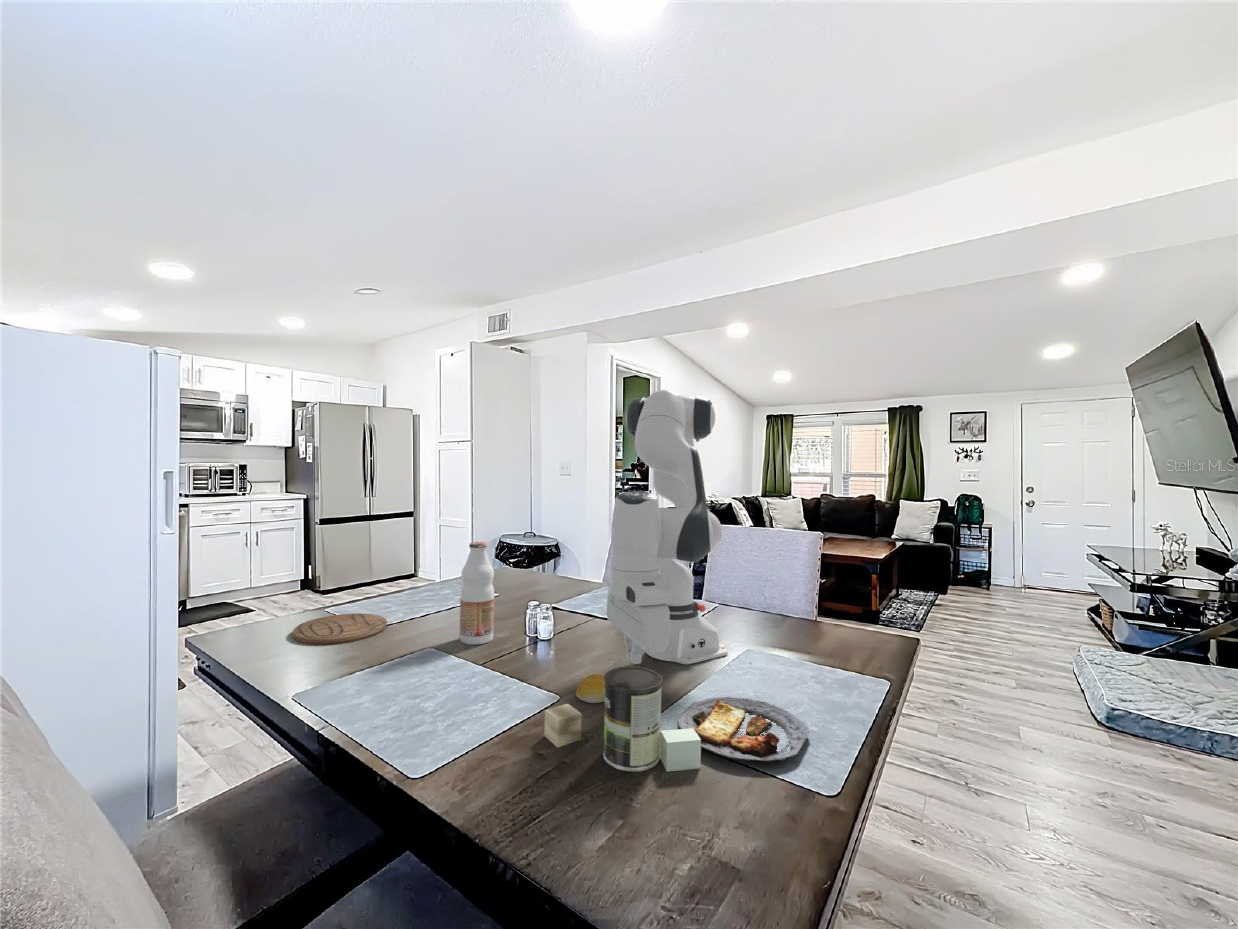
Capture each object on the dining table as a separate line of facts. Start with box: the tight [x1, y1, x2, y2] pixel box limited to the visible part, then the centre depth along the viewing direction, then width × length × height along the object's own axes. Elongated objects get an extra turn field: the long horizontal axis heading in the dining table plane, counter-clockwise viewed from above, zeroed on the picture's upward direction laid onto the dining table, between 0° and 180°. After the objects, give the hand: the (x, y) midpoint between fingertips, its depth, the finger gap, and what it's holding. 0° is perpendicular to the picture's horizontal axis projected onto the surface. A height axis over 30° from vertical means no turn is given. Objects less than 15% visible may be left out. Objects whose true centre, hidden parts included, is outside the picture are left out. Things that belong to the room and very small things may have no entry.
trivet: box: [292, 613, 388, 646], centre depth 161 cm, size 25×25×2 cm
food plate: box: [676, 696, 811, 764], centre depth 104 cm, size 25×23×4 cm
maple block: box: [544, 703, 582, 748], centre depth 102 cm, size 5×5×5 cm
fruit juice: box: [459, 541, 495, 646], centre depth 155 cm, size 9×9×28 cm
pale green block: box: [660, 728, 702, 772], centre depth 94 cm, size 6×4×5 cm, turn 101°
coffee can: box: [602, 665, 663, 773], centre depth 96 cm, size 10×10×14 cm
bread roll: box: [575, 673, 605, 704], centre depth 120 cm, size 8×9×4 cm
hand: (633, 661), depth 96 cm, fingers closed
